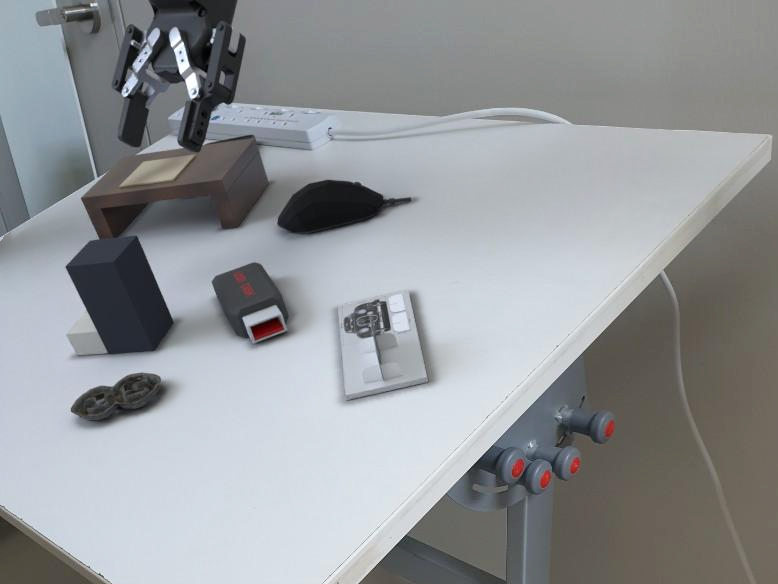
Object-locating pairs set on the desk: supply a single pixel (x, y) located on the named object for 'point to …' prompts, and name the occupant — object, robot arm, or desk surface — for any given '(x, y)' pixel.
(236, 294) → the usb drive
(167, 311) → the charcoal rectangular prism
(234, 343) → the desk surface
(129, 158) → the brown coffee table
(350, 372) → the car print tile
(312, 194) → the gaming mouse
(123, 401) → the corroded twin loop
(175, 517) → the desk surface
